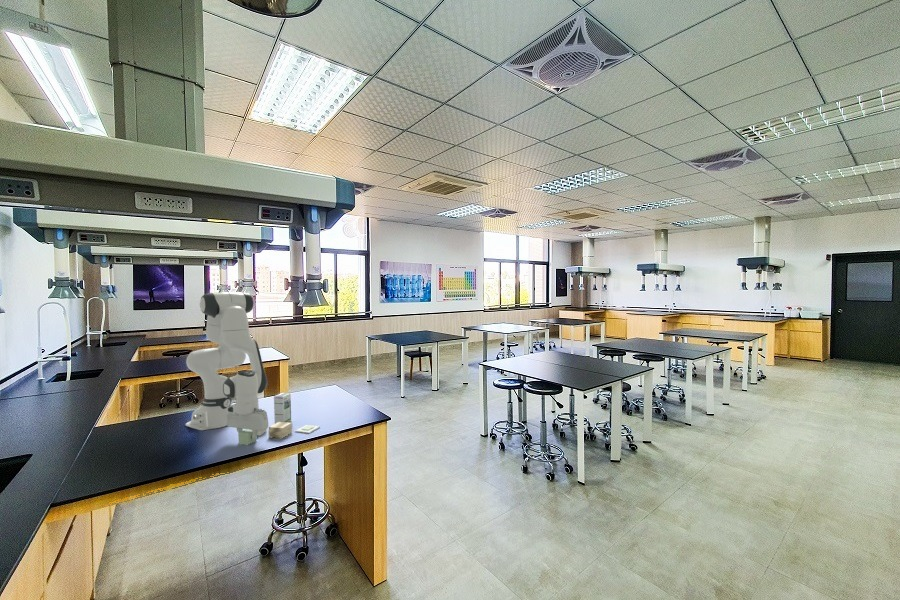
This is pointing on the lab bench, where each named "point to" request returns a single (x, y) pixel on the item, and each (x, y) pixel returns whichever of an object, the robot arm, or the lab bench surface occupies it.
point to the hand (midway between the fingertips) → (247, 438)
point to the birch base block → (280, 429)
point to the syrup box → (282, 407)
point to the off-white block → (261, 432)
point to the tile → (307, 429)
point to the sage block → (246, 437)
